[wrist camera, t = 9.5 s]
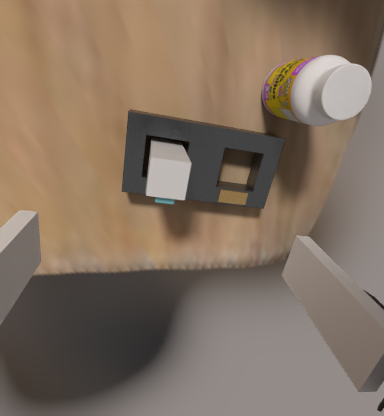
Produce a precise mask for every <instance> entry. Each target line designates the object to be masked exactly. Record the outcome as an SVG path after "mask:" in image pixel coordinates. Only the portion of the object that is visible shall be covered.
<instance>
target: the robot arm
mask: <svg viewBox="0 0 384 416" xmlns="http://www.w3.org/2000/svg"><path fill="white" fill-rule="evenodd" d="M40 262H41V251H40V235H39V220H38V212H34V211H23V210H19V211H18V212H17V213H16V214H15V215H14V216H13V217H12V218H11V219H10V220H9V221H8V222H7V223H5V224H4V225H3V226H2V227H1V228H0V325H1V323H2V322H3V320H4V319H5V317H6V315H7V314H8V312H9V311H10V309H11V308H12V306H13V305H14V303H15V301H16V300H17V298H18V297H19V295H20V293H21V292H22V290H23V289H24V287H25V286H26V284H27V283H28V281H29V280H30V278H31V276H32V275H33V273H34V272H35V270H36V269H37V267H38V266H39V264H40ZM282 277H283V279H284V280H285V282H286V283H287V285H288V286H289V288H290V289H291V291H292V292H293V294H294V295H295V297H296V298H297V300H298V301H299V303H300V304H301V306H302V307H303V309H304V310H305V312H306V313H307V315H308V316H309V318H310V319H311V321H312V322H313V324H314V325H315V327H316V328H317V330H318V331H319V333H320V334H321V336H322V337H323V339H324V340H325V342H326V344H327V345H328V346H329V348H330V349H331V351H332V353H333V354H334V355H335V357H336V359H337V360H338V361H339V363H340V365H341V366H342V368H343V369H344V371H345V372H346V373H347V375H348V377H349V378H350V380H351V381H352V383H353V384H354V386H355V387H356V389H357V390H358V392H373V391H377V390H378V388H379V387H380V385H381V384H382V382H383V381H384V306H383V305H382V304H381V303H380V302H379V301H378V300H377V299H376V298H375V297H374V296H372V295H371V294H369V293H368V292H366V291H365V290H363V289H362V288H361V287H360V286H359V285H358V284H357V283H356V282H354V281H353V279H352V278H351V277H349V276H348V275H347V274H346V273H345V272H344V271H343V270H342V269H341V268H340V267H339V266H338V265H337V264H336V263H335V262H334V261H333V260H332V259H331V258H330V257H329V256H328V255H327V254H326V253H325V252H324V251H323V250H322V249H321V248H320V247H319V246H318V245H317V244H316V243H315V242H314V241H313V240H312V239H311V238H310V237H308V236H297V235H296V238H295V241H294V243H293V246H292V249H291V252H290V254H289V257H288V260H287V262H286V265H285V268H284V271H283V273H282ZM383 408H384V399H383V400H382V402H381V403H380V404H379V406H378V409H377V410H379V411H382V410H383Z"/></svg>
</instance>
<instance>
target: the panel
mask: <svg viewBox="0 0 384 416" xmlns="http://www.w3.org/2000/svg"><path fill="white" fill-rule="evenodd" d="M146 135H151V136H157V137H163V138H169V139H176V140H182V141H186V147H185V151H186V153H187V155H188V157H189V159H190V161H191V169H190V174H189V180H188V185H187V191H186V196H185V199H188V200H196V201H205V202H213V203H221V204H230V205H238V206H246V207H255V208H263V209H264V206H265V203H266V199H267V196H268V193H269V190H270V186H271V183H272V180H273V177H274V174H275V170H276V167H277V164H278V161H279V157H280V154H281V151H282V148H283V145H284V141H285V139H284V138H281V137H279V136H276V135H271V134H266V133H260V132H254V131H249V130H243V129H238V128H232V127H226V126H221V125H215V124H209V123H204V122H198V121H192V120H187V119H181V118H176V117H170V116H164V115H159V114H153V113H147V112H142V111H136V110H131V109H130V110H129V111H128V123H127V135H126V147H125V159H124V171H123V183H122V192H129V193H138V194H146V189H147V174H148V171H142V169H143V160H144V151H145V142H146ZM225 148H231V149H237V150H244V151H250V152H255V155H254V158H253V162H252V166H251V169H250V173H249V177H248V180H247V184H246V185H245V184H237V183H230V182H223V181H217V180H218V176H219V171H220V167H221V163H222V158H223V154H224V149H225Z"/></svg>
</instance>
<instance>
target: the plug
mask: <svg viewBox="0 0 384 416" xmlns="http://www.w3.org/2000/svg"><path fill="white" fill-rule="evenodd" d="M190 169H191V161H190V159H189V157H188V155H187V153H186V151H185V149H184V147H183V145H182V143H181V142H176V141H170V140H164V139H157V138H151V146H150V154H149V163H148V174H147V189H146V196H152V197H155V202H157V203H166V204H174V200H175V199H177V200H185V196H186V191H187V185H188V180H189V174H190Z"/></svg>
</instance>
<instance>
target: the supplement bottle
mask: <svg viewBox="0 0 384 416" xmlns="http://www.w3.org/2000/svg"><path fill="white" fill-rule="evenodd" d="M371 88H372V81H371V77H370V75H369V73H368V71H367V70H366V69H365V68H364V67H362V66H361V65H358V64H351V63H350V62H349V61H347V60H346V59H345V58H343V57H340V56H337V55H324V56H318V57H313V58H307V59H301V60H295V61H289V62H284V63H281V64H279V65H277V66H276V67H275V68H273V69H272V70H271V71H270V73H269V74H268V75H267V77H266V79H265V81H264V84H263V87H262V100H263V103H264V105H265V107H266V109H267V110H268V111H269V112H270V113H271V114H273V115H275V116H277V117H280V118H284V119H288V120H292V121H295V122H299V123H303V124H307V125H311V126H324V125H328V124H331V123H333V122H335V121H336V120H347V119H350V118H352V117H354V116H355V115H357V114H358V113H359V112H360V111H361V110H362V109H363V108H364V106H365V105H366V103H367V101H368V99H369V97H370V94H371Z"/></svg>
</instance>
